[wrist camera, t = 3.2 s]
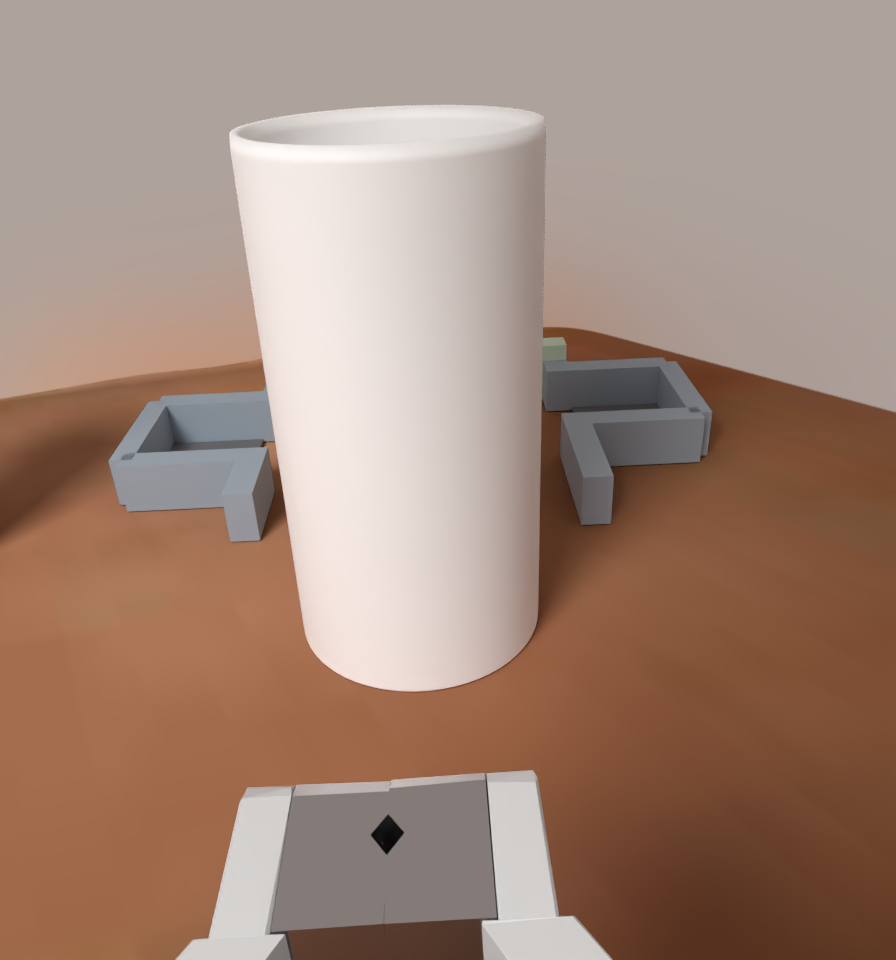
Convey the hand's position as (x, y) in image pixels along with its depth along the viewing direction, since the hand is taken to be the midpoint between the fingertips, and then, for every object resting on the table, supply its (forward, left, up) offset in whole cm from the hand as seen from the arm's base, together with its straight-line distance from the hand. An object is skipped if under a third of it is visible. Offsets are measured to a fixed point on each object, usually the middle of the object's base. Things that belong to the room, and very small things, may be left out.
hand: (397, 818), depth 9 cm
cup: (0, +18, -11) cm, 21 cm away
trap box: (0, +29, -11) cm, 31 cm away
